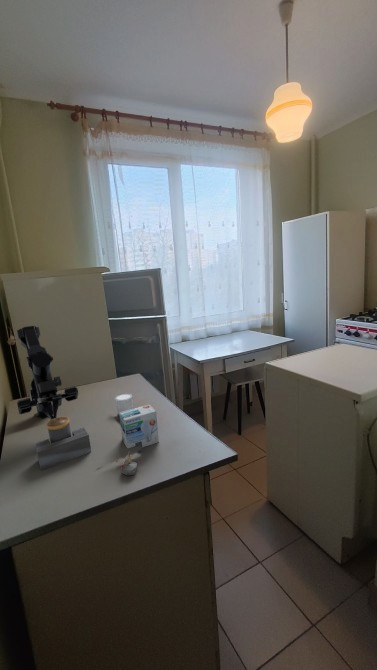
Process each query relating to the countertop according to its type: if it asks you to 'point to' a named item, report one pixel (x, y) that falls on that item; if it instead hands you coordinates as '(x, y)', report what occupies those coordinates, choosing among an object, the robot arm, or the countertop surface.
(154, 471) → the countertop surface
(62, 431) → the gray cup
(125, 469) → the figurine
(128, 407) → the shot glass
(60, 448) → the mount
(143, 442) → the light bulb box
